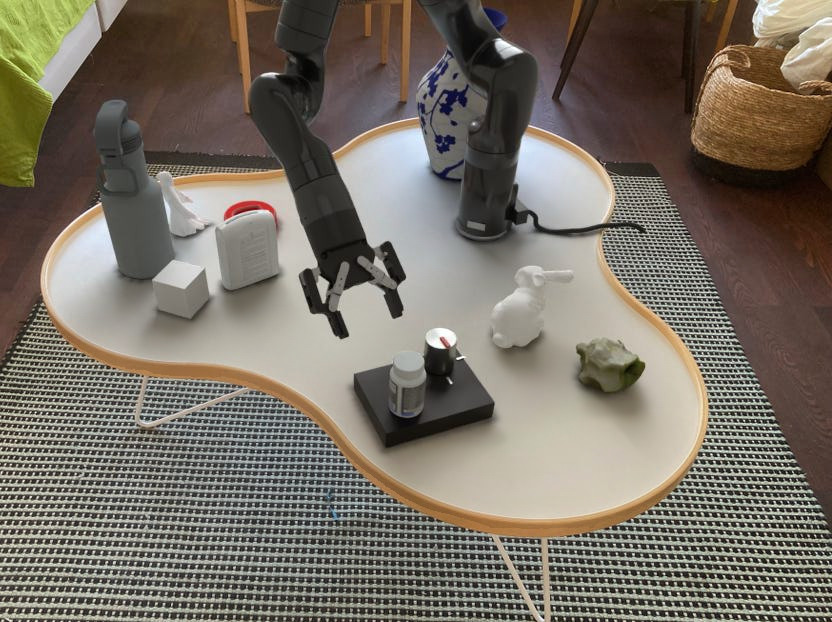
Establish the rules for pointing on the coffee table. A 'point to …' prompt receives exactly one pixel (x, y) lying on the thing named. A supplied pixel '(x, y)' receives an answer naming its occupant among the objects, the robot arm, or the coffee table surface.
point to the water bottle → (130, 195)
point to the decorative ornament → (249, 209)
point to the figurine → (179, 208)
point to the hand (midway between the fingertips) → (372, 327)
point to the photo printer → (247, 248)
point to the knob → (439, 351)
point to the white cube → (181, 288)
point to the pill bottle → (407, 384)
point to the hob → (425, 403)
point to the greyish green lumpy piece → (608, 365)
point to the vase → (449, 110)
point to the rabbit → (524, 307)
